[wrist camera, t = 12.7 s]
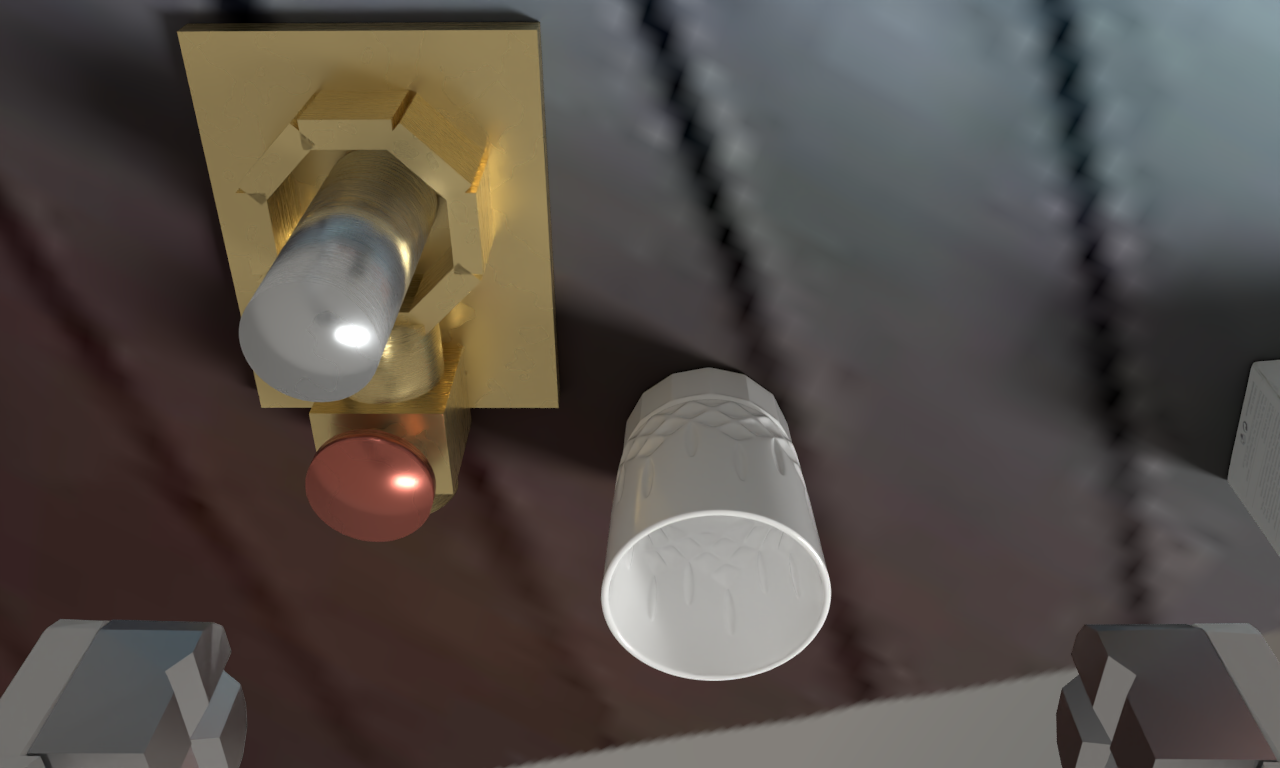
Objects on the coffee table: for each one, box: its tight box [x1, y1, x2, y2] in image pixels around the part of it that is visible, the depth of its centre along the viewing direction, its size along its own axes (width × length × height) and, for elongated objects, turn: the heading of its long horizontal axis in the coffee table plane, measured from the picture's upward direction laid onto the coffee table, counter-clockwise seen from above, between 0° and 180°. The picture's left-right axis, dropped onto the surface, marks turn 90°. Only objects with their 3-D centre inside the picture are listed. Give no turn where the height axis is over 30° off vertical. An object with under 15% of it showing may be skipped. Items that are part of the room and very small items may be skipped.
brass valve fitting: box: [177, 22, 560, 542], centre depth 40 cm, size 18×12×8 cm
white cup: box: [601, 367, 831, 681], centre depth 43 cm, size 8×8×10 cm
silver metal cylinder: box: [239, 150, 437, 402], centre depth 37 cm, size 4×4×10 cm
